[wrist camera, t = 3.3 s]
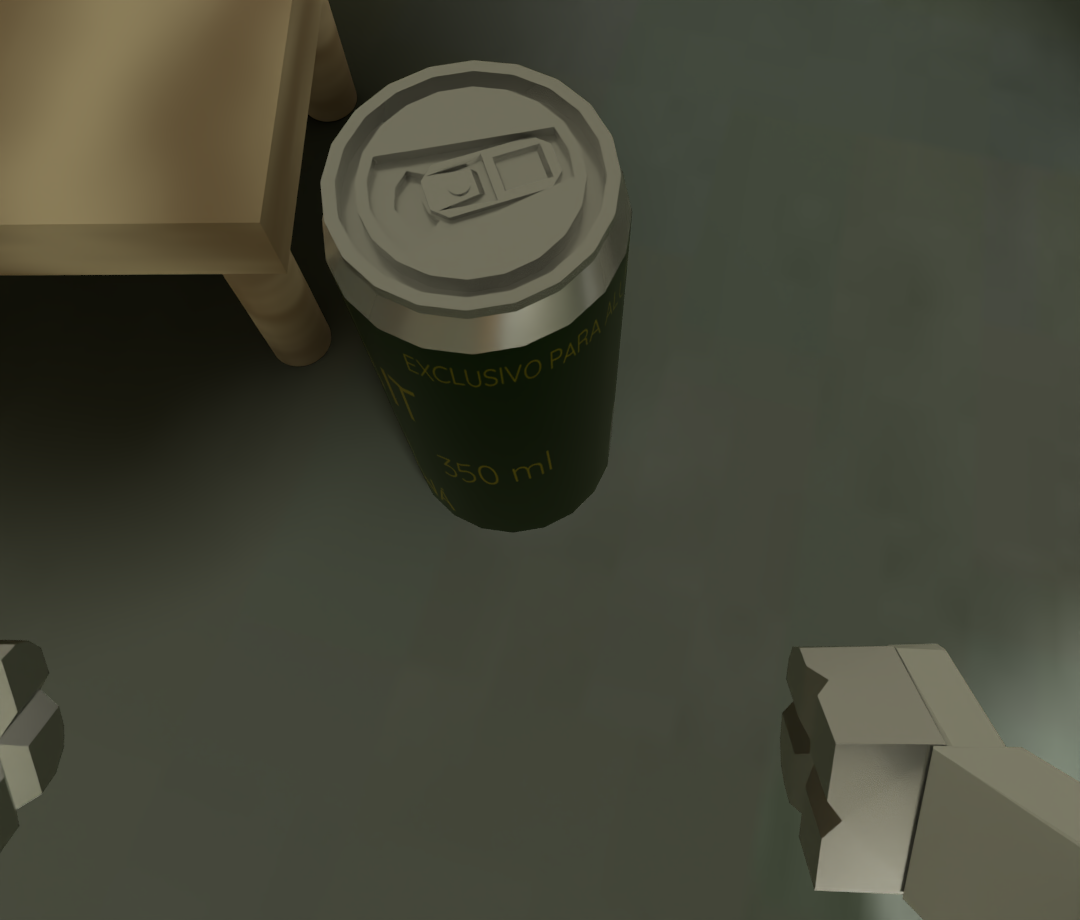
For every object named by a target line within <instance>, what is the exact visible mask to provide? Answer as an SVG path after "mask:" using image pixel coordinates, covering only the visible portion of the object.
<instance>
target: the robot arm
mask: <svg viewBox="0 0 1080 920" xmlns="http://www.w3.org/2000/svg"><path fill="white" fill-rule="evenodd" d="M48 675H49V670H48V667H47V664H46V661H45V658H44V655H43V652H42V649H41V647H39V646H37V645H35V644H34V643H32V642H30V641H27V640H0V852H1V851H2V850H3V848H4V847H5V845H6V844H7V843H8V841H9V840H10V838H11V837H12V836H13V834H14V833H15V831H16V830H17V829H18V827H19V821H18V816H17V809H18V808H20V807H21V806H23V805H25V804H26V803H28V802H30V801H31V800H33V799H34V798H36V797H38V796H39V795H41V794H42V793H43V792H44V790H45V789H46V787H47V786H48V784H49V783H50V781H51V780H52V778H53V777H54V775H55V774H56V772H57V768H58V765H59V762H60V758H61V755H62V752H63V748H64V724H63V720H62V716H61V712H60V709H59V706H58V705H57V704H56V703H55V702H54V701H53V700H51V699H50V698H49V697H48V696H47V695H46V694H45V693H44V692H43V691H42V690H41V687H42V686H43V684H44V682H45V680H46V678H47V677H48ZM786 680H787V683H788V686H789V689H790V692H791V695H792V698H793V702H792V703H791V704H790V705H789V707H788V708H787V709H786V710H785V711H784V712H783V713H782V722H781V734H780V750H781V768H782V774H783V779H784V785H785V789H786V792H787V796H788V800H789V803H790V804H791V805H792V806H793V807H795V808H796V809H797V810H798V811H799V812H801V813H802V816H801V824H800V832H799V839H800V842H801V846H802V849H803V852H804V856H805V859H806V863H807V866H808V869H809V873H810V876H811V880H812V883H813V886H814V890H815V891H838V892H861V893H884V894H903V899H904V900H905V901H906V902H907V903H908V904H909V905H910V906H911V907H912V909H913V910H914V911H915V912H916V913H917V914H918V915H919V916H920V917H921V918H922V919H923V920H1080V782H1079V781H1077V780H1075V779H1074V778H1072V777H1070V776H1069V775H1067V774H1065V773H1064V772H1062V771H1060V770H1059V769H1057V768H1055V767H1054V766H1052V765H1050V764H1049V763H1047V762H1045V761H1044V760H1042V759H1040V758H1039V757H1037V756H1035V755H1034V754H1032V753H1030V752H1029V751H1027V750H1025V749H1024V748H1022V747H1006V745H1005V744H1004V742H1003V741H1002V739H1001V737H1000V736H999V734H998V733H997V731H996V729H995V728H994V726H993V725H992V723H991V722H990V720H989V718H988V717H987V715H986V714H985V712H984V710H983V709H982V707H981V706H980V704H979V702H978V701H977V699H976V698H975V696H974V695H973V693H972V691H971V690H970V688H969V687H968V685H967V683H966V682H965V680H964V679H963V677H962V675H961V674H960V672H959V671H958V669H957V667H956V666H955V664H954V663H953V661H952V660H951V658H950V656H949V655H948V653H947V652H946V650H945V649H944V648H943V647H941V646H939V645H938V644H905V645H888V646H816V647H792V650H791V653H790V656H789V660H788V668H787V676H786Z"/></svg>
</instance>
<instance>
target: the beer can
mask: <svg viewBox="0 0 1080 920" xmlns="http://www.w3.org/2000/svg"><path fill="white" fill-rule="evenodd" d="M320 184H321V195H322V205H323V218H322V224H323V235H324V245H325V256H326V262H327V264H328V266H329V268H330V270H331V273H332V275H333V277H334V279H335V281H336V284H337V286H338V288H339V290H340V293H341V295H342V297H343V299H344V301H345V304H346V306H347V308H348V310H349V312H350V315H351V317H352V319H353V321H354V323H355V326H356V328H357V330H358V332H359V335H360V337H361V339H362V341H363V343H364V346H365V348H366V350H367V352H368V354H369V357H370V359H371V361H372V363H373V365H374V368H375V370H376V372H377V374H378V377H379V379H380V381H381V383H382V385H383V388H384V390H385V392H386V394H387V396H388V399H389V401H390V403H391V405H392V407H393V410H394V412H395V414H396V416H397V419H398V421H399V423H400V425H401V427H402V430H403V432H404V434H405V436H406V438H407V441H408V443H409V445H410V447H411V449H412V452H413V454H414V456H415V458H416V461H417V463H418V465H419V467H420V469H421V471H422V473H423V475H424V477H425V479H426V481H427V483H428V485H429V487H430V489H431V491H432V493H433V495H434V496H435V497H436V498H437V499H438V500H439V501H440V502H441V503H443V504H444V505H445V506H446V507H447V508H448V509H449V510H450V511H451V512H452V513H453V514H454V515H456V516H458V517H460V518H462V519H464V520H466V521H468V522H470V523H472V524H474V525H476V526H478V527H480V528H484V529H492V530H499V531H506V532H519V531H525V530H531V529H537V528H543V527H546V526H548V525H550V524H552V523H554V522H556V521H558V520H560V519H562V518H564V517H566V516H567V515H569V514H571V513H573V512H574V511H575V510H576V509H577V508H578V507H579V506H580V505H581V504H582V503H583V502H584V501H585V500H586V499H587V498H588V497H589V496H590V495H591V494H592V493H593V492H594V491H595V489H596V487H597V485H598V483H599V481H600V479H601V477H602V475H603V473H604V471H605V469H606V467H607V464H608V457H609V450H610V442H611V434H612V423H613V413H614V402H615V391H616V380H617V369H618V359H619V348H620V337H621V326H622V315H623V305H624V294H625V283H626V272H627V261H628V251H629V240H630V229H631V218H632V209H631V205H630V201H629V196H628V192H627V188H626V184H625V179H624V175H623V172H622V170H621V169H620V167H619V162H618V158H617V154H616V150H615V145H614V141H613V137H612V135H611V134H610V132H609V131H608V129H607V128H606V126H605V125H604V123H603V122H602V120H601V119H600V117H599V116H598V115H597V113H596V112H595V110H594V109H593V107H592V106H591V104H590V103H588V102H587V101H586V100H584V99H583V98H582V97H580V96H579V95H578V94H576V93H575V92H574V91H572V90H571V89H570V88H568V87H567V86H566V85H564V84H563V83H562V82H560V81H559V80H558V79H555V78H553V77H550V76H547V75H545V74H542V73H539V72H536V71H534V70H531V69H528V68H526V67H523V66H520V65H518V64H507V63H497V62H486V61H476V60H472V61H466V62H459V63H453V64H446V65H440V66H433V67H428V68H426V69H424V70H421V71H419V72H416V73H414V74H412V75H409V76H407V77H405V78H402V79H400V80H398V81H395V82H393V83H390V84H388V85H387V86H386V87H384V88H383V89H382V90H381V91H379V92H378V93H377V94H375V95H374V96H373V97H372V98H370V99H369V100H368V101H367V102H365V103H364V104H363V105H361V106H360V107H359V108H358V109H356V110H355V111H354V113H353V114H352V115H351V117H350V118H349V120H348V121H347V122H346V124H345V125H344V127H343V128H342V130H341V131H340V132H339V134H338V135H337V137H336V138H335V140H334V141H333V142H332V144H331V147H330V150H329V154H328V157H327V161H326V164H325V168H324V171H323V175H322V178H321V182H320Z"/></svg>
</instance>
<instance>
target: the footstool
mask: <svg viewBox="0 0 1080 920" xmlns="http://www.w3.org/2000/svg"><path fill="white" fill-rule="evenodd" d="M356 102H357V93H356V90H355V87H354V83H353V80H352V77H351V74H350V70H349V67H348V64H347V60H346V57H345V54H344V51H343V47H342V44H341V41H340V38H339V34H338V31H337V28H336V24H335V21H334V18H333V15H332V11H331V8H330V5H329V2H328V0H0V275H145V274H222V275H223V276H224V278H225V279H226V281H227V282H228V284H229V285H230V287H231V288H232V290H233V291H234V293H235V294H236V296H237V297H238V299H239V301H240V302H241V304H242V305H243V307H244V308H245V310H246V311H247V313H248V314H249V316H250V317H251V319H252V320H253V322H254V323H255V325H256V326H257V328H258V329H259V331H260V333H261V334H262V336H263V337H264V339H265V340H266V342H267V343H268V345H269V346H270V348H271V349H272V351H273V352H274V354H275V355H276V357H277V358H278V359H279V360H280V361H282V362H283V363H285V364H287V365H291V366H306V365H309V364H312V363H314V362H316V361H318V360H319V359H320V358H321V357H322V356H324V354H325V353H326V352H327V350H328V348H329V346H330V343H331V331H330V328H329V326H328V324H327V322H326V320H325V318H324V316H323V314H322V312H321V310H320V308H319V306H318V304H317V302H316V300H315V298H314V296H313V294H312V292H311V290H310V288H309V286H308V284H307V282H306V280H305V278H304V276H303V274H302V272H301V270H300V268H299V267H298V265H297V263H296V261H295V259H294V257H293V255H292V253H291V251H290V248H291V240H292V232H293V225H294V217H295V209H296V202H297V194H298V186H299V179H300V171H301V163H302V155H303V148H304V140H305V132H306V125H307V117H308V114H309V115H310V116H311V117H312V118H314V119H316V120H319V121H325V122H329V121H336V120H339V119H342V118H343V117H345V116H347V115H348V114H349V113H350V112H351V111H352V110H353V109H354V107H355V105H356Z"/></svg>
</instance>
